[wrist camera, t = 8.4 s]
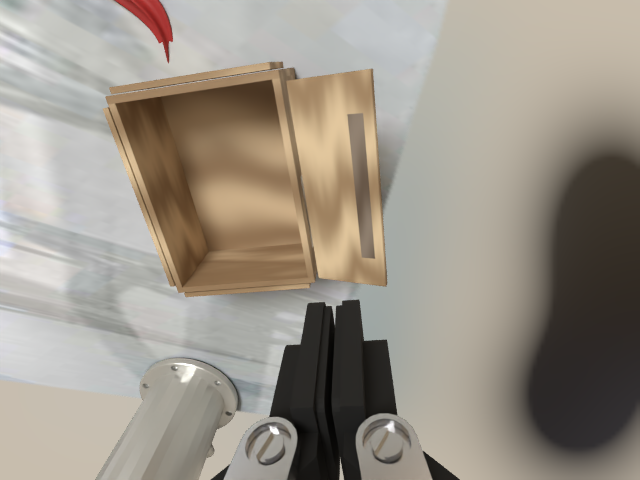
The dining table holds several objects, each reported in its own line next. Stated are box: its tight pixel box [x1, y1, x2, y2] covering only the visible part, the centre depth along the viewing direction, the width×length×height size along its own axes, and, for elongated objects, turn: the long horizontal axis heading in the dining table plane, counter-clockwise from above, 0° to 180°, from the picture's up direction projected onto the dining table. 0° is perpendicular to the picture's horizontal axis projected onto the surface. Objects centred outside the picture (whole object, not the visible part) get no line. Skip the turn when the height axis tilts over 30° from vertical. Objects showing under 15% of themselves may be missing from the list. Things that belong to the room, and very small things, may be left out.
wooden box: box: [103, 62, 317, 297], centre depth 30 cm, size 17×13×7 cm
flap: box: [286, 69, 387, 286], centre depth 25 cm, size 15×1×6 cm
